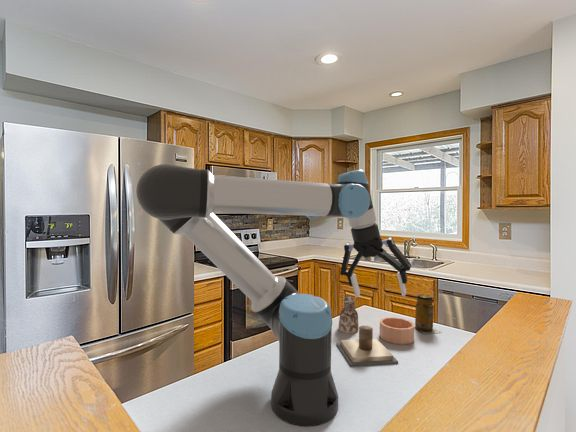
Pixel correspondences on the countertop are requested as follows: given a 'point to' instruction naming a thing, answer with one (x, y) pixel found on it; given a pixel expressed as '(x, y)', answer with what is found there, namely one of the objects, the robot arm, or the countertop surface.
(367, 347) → the lid
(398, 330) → the bowl
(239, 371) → the countertop surface
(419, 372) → the countertop surface
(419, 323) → the condiment
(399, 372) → the countertop surface
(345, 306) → the figurine
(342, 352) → the mat
